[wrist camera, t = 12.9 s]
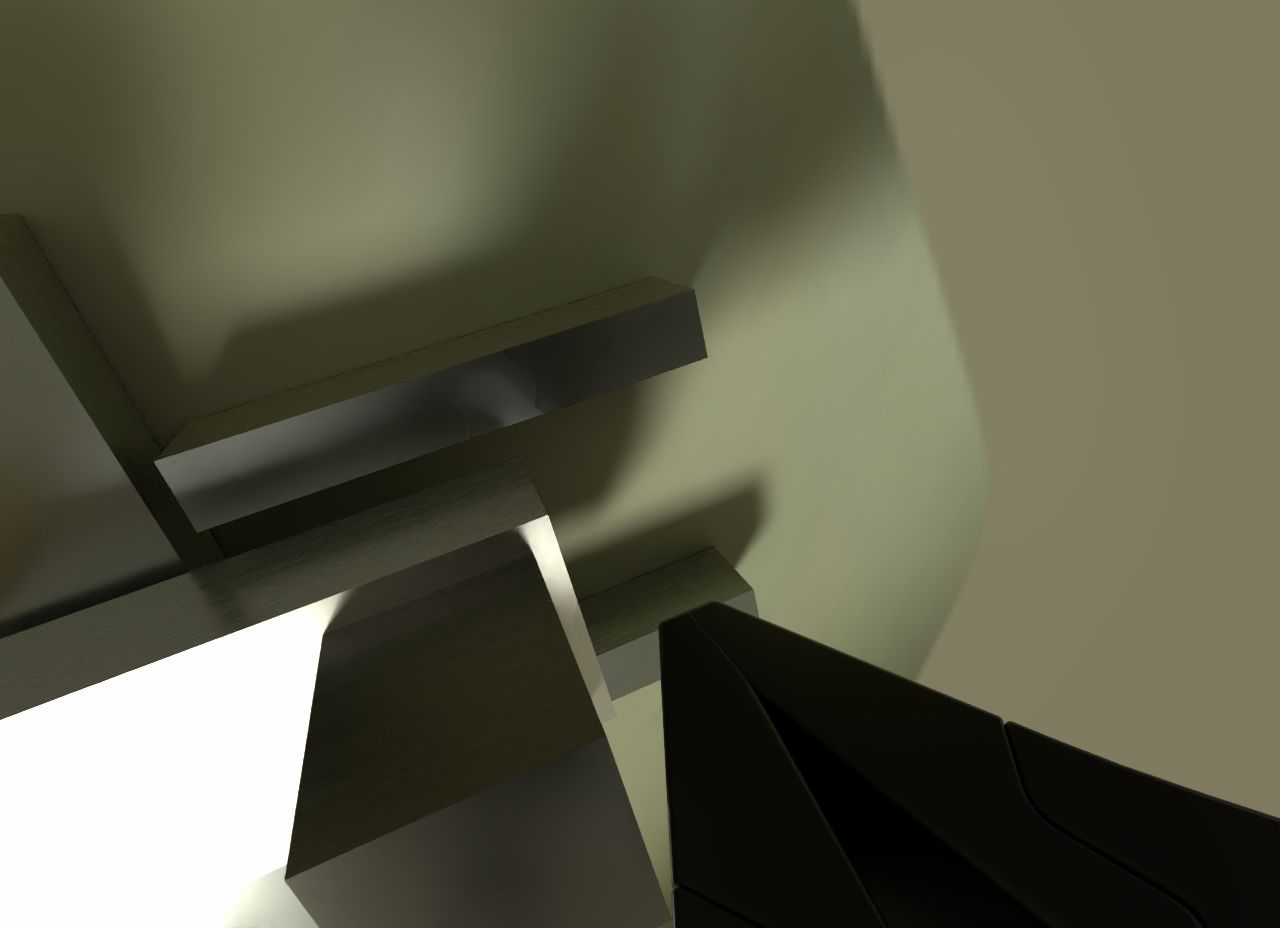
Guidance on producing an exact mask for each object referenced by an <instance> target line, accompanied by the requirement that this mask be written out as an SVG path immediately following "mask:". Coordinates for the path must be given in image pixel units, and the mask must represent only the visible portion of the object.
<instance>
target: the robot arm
mask: <svg viewBox="0 0 1280 928" xmlns="http://www.w3.org/2000/svg"><path fill="white" fill-rule="evenodd" d="M658 634H659V653H660V672H661V691H662V710H663V729H664V749H665V768H666V787H667V806H668V825H669V844H670V863H671V882H672V887H673V891H672V912H673V928H1280V818H1278V817H1275V816H1272V815H1269V814H1266V813H1263V812H1260V811H1256V810H1253V809H1251V808H1248V807H1244V806H1241V805H1238V804H1235V803H1232V802H1229V801H1226V800H1223V799H1220V798H1217V797H1213V796H1211V795H1208V794H1205V793H1202V792H1199V791H1196V790H1193V789H1190V788H1187V787H1184V786H1181V785H1178V784H1175V783H1173V782H1170V781H1167V780H1164V779H1161V778H1158V777H1155V776H1152V775H1150V774H1147V773H1144V772H1141V771H1138V770H1135V769H1132V768H1129V767H1126V766H1123V765H1121V764H1118V763H1116V762H1113V761H1110V760H1108V759H1105V758H1103V757H1100V756H1097V755H1095V754H1092V753H1090V752H1087V751H1084V750H1082V749H1079V748H1077V747H1074V746H1072V745H1069V744H1066V743H1064V742H1061V741H1059V740H1056V739H1054V738H1051V737H1048V736H1046V735H1044V734H1041V733H1039V732H1036V731H1034V730H1032V729H1029V728H1027V727H1024V726H1022V725H1019V724H1017V723H1015V722H1012V721H1008V722H1007V723H1005V725H1004V722H1003V720H1002V718H1000V717H999V716H997V715H994V714H992V713H989V712H987V711H985V710H982V709H980V708H977V707H975V706H972V705H970V704H967V703H965V702H963V701H960V700H958V699H955V698H953V697H951V696H948V695H946V694H943V693H941V692H938V691H936V690H933V689H931V688H929V687H926V686H924V685H921V684H919V683H916V682H914V681H912V680H909V679H907V678H904V677H902V676H899V675H897V674H895V673H892V672H890V671H887V670H885V669H882V668H880V667H878V666H875V665H873V664H870V663H868V662H865V661H863V660H861V659H858V658H856V657H853V656H851V655H848V654H846V653H844V652H841V651H839V650H836V649H834V648H831V647H829V646H826V645H824V644H822V643H819V642H817V641H814V640H812V639H809V638H807V637H805V636H802V635H800V634H797V633H795V632H792V631H790V630H788V629H785V628H783V627H780V626H778V625H775V624H773V623H771V622H768V621H766V620H763V619H761V618H758V617H756V616H754V615H751V614H749V613H746V612H744V611H741V610H739V609H736V608H734V607H732V606H729V605H727V604H724V603H722V602H719V601H715V600H712V601H708V602H706V603H703V604H701V605H699V606H696V607H694V608H691V609H689V610H687V611H684V612H682V613H679V614H677V615H675V616H672V617H670V618H667V619H665V620H663V621H661V622H660V623H659V626H658Z"/></svg>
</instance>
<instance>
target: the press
mask: <svg viewBox="0 0 1280 928" xmlns="http://www.w3.org/2000/svg"><path fill="white" fill-rule="evenodd" d="M705 358H708V357H707V352H706V347H705V342H704V337H703V332H702V327H701V322H700V317H699V311H698V306H697V301H696V296H695V291H694V289H692V288H688V287H685V286H682V285H679V284H675V283H672V282H669V281H666V280H662V279H659V278H656V277H653V278H650V279H647V280H643V281H640V282H637V283H634V284H631V285H627V286H624V287H621V288H618V289H614V290H611V291H608V292H605V293H602V294H598V295H595V296H592V297H589V298H586V299H582V300H579V301H576V302H573V303H569V304H566V305H563V306H560V307H557V308H553V309H550V310H547V311H544V312H540V313H537V314H534V315H531V316H528V317H524V318H521V319H518V320H515V321H511V322H508V323H505V324H502V325H499V326H495V327H492V328H489V329H486V330H483V331H479V332H476V333H473V334H470V335H466V336H463V337H460V338H457V339H454V340H450V341H447V342H444V343H441V344H437V345H434V346H431V347H428V348H425V349H421V350H418V351H415V352H412V353H409V354H405V355H402V356H399V357H396V358H392V359H389V360H386V361H383V362H380V363H376V364H373V365H370V366H367V367H363V368H360V369H357V370H354V371H351V372H347V373H344V374H341V375H338V376H334V377H331V378H328V379H325V380H322V381H318V382H315V383H312V384H309V385H306V386H302V387H299V388H296V389H293V390H289V391H286V392H283V393H280V394H277V395H273V396H270V397H267V398H264V399H260V400H257V401H254V402H251V403H248V404H244V405H241V406H238V407H235V408H232V409H228V410H225V411H222V412H219V413H215V414H212V415H209V416H206V417H203V418H199V419H196V420H193V421H190V422H189V423H188V424H187V425H186V426H185V427H184V428H183V429H182V430H181V432H180V433H179V434H178V435H177V436H176V437H175V438H174V439H173V440H172V442H171V443H170V444H169V445H168V446H167V447H166V448H165V449H164V451H163V452H161V450H160V448H159V447H158V445H157V443H156V442H155V440H154V438H153V437H152V435H151V433H150V432H149V430H148V428H147V427H146V425H145V423H144V422H143V420H142V418H141V417H140V415H139V413H138V412H137V410H136V408H135V407H134V405H133V403H132V402H131V400H130V398H129V397H128V395H127V393H126V392H125V390H124V388H123V387H122V385H121V383H120V382H119V380H118V378H117V377H116V375H115V373H114V372H113V370H112V368H111V367H110V365H109V363H108V362H107V360H106V358H105V357H104V355H103V353H102V352H101V350H100V348H99V347H98V345H97V343H96V342H95V340H94V338H93V337H92V335H91V333H90V332H89V330H88V328H87V327H86V325H85V323H84V322H83V320H82V318H81V317H80V315H79V313H78V312H77V310H76V308H75V307H74V305H73V303H72V302H71V300H70V298H69V297H68V295H67V293H66V292H65V290H64V288H63V287H62V285H61V283H60V282H59V280H58V278H57V277H56V275H55V273H54V272H53V270H52V269H51V267H50V265H49V264H48V262H47V260H46V259H45V257H44V255H43V254H42V252H41V250H40V249H39V247H38V245H37V244H36V242H35V240H34V239H33V237H32V235H31V234H30V232H29V230H28V229H27V227H26V225H25V224H24V222H23V220H22V219H21V217H20V215H19V214H4V215H0V639H2V638H5V637H8V636H10V635H13V634H16V633H19V632H22V631H25V630H27V629H30V628H33V627H36V626H39V625H41V624H44V623H47V622H50V621H53V620H56V619H58V618H61V617H64V616H67V615H70V614H73V613H75V612H78V611H81V610H84V609H87V608H90V607H92V606H95V605H98V604H101V603H104V602H107V601H109V600H112V599H115V598H118V597H121V596H124V595H126V594H129V593H132V592H135V591H138V590H141V589H143V588H146V587H149V586H152V585H155V584H158V583H160V582H163V581H166V580H169V579H172V578H175V577H177V576H180V575H183V574H186V573H189V572H192V571H194V570H197V569H200V568H203V567H206V566H208V565H211V564H214V563H217V562H220V561H223V560H225V559H226V558H225V556H224V555H223V553H222V551H221V550H220V548H219V546H218V545H217V543H216V541H215V540H214V538H213V536H212V535H211V533H210V531H209V530H208V529H209V528H212V527H215V526H218V525H221V524H224V523H227V522H230V521H233V520H235V519H238V518H241V517H244V516H247V515H250V514H253V513H256V512H259V511H262V510H265V509H268V508H270V507H273V506H276V505H279V504H282V503H285V502H288V501H291V500H294V499H297V498H300V497H303V496H305V495H308V494H311V493H314V492H317V491H320V490H323V489H326V488H329V487H332V486H335V485H338V484H340V483H343V482H346V481H349V480H352V479H355V478H358V477H361V476H364V475H367V474H370V473H373V472H375V471H378V470H381V469H384V468H387V467H390V466H393V465H396V464H399V463H402V462H405V461H408V460H410V459H413V458H416V457H419V456H422V455H425V454H428V453H431V452H434V451H437V450H440V449H443V448H445V447H448V446H451V445H454V444H457V443H460V442H463V441H466V440H469V439H472V438H475V437H478V436H480V435H483V434H486V433H489V432H492V431H495V430H498V429H501V428H504V427H507V426H510V425H513V424H515V423H518V422H521V421H524V420H527V419H530V418H533V417H536V416H539V415H542V414H545V413H548V412H550V411H553V410H556V409H559V408H562V407H565V406H568V405H571V404H574V403H577V402H580V401H583V400H585V399H588V398H591V397H594V396H597V395H600V394H603V393H606V392H609V391H612V390H615V389H618V388H620V387H623V386H626V385H629V384H632V383H635V382H638V381H641V380H644V379H647V378H650V377H653V376H655V375H658V374H661V373H664V372H667V371H670V370H673V369H676V368H679V367H682V366H685V365H688V364H690V363H693V362H696V361H699V360H702V359H705ZM712 600H715V601H719V602H722V603H724V604H727V605H729V606H732V607H734V608H736V609H739V610H741V611H744V612H746V613H749V614H751V615H754V616H756V617H758V618H759V615H758V609H757V604H756V599H755V594H754V589H753V588H752V587H751V586H750V585H749V584H748V583H747V582H746V581H745V580H744V579H743V578H742V576H741V575H740V574H739V573H738V572H737V571H736V570H735V569H734V568H733V567H732V566H731V565H730V563H729V562H728V561H727V560H726V559H725V558H724V557H723V556H722V555H721V554H720V553H719V551H718V550H717V549H716V548H715V547H713V548H710V549H708V550H705V551H703V552H700V553H698V554H696V555H693V556H691V557H688V558H686V559H683V560H681V561H678V562H676V563H673V564H671V565H668V566H666V567H664V568H661V569H659V570H656V571H654V572H651V573H649V574H646V575H644V576H641V577H639V578H636V579H634V580H632V581H629V582H627V583H624V584H622V585H619V586H617V587H614V588H612V589H609V590H607V591H604V592H602V593H600V594H597V595H595V596H592V597H590V598H587V599H585V600H582V601H580V602H578V604H579V607H580V610H581V613H582V616H583V619H584V622H585V625H586V628H587V631H588V634H589V637H590V639H591V642H592V645H593V648H594V651H595V654H596V657H597V660H598V663H599V666H600V669H601V672H602V675H603V678H604V681H605V684H606V686H607V689H608V692H609V695H610V698H611V701H613V700H616V699H618V698H620V697H622V696H625V695H627V694H629V693H631V692H634V691H636V690H638V689H640V688H643V687H645V686H647V685H650V684H652V683H654V682H656V681H659V680H661V672H660V653H659V634H658V626H659V623H660V622H661V621H663V620H665V619H667V618H670V617H672V616H675V615H677V614H679V613H682V612H684V611H687V610H689V609H691V608H694V607H696V606H699V605H701V604H703V603H706V602H708V601H712ZM286 866H287V864H286V865H284V866H282V867H280V868H277V869H275V870H273V871H271V872H268V873H266V874H264V875H262V876H259V877H257V878H255V879H253V880H250V881H248V882H246V883H244V884H242V885H239V886H237V887H235V888H233V889H230V890H228V891H226V892H224V893H221V894H219V895H217V896H215V897H213V898H210V899H208V900H206V901H204V902H201V903H199V904H197V905H195V906H192V907H190V908H188V909H186V910H184V911H181V912H179V913H177V914H175V915H172V916H170V917H168V918H166V919H163V920H161V921H159V922H157V923H155V924H152V925H150V926H148V927H146V928H319V927H318V926H317V924H316V923H315V922H314V920H313V919H312V918H311V916H310V915H309V913H308V912H307V911H306V909H305V908H304V907H303V905H302V904H301V903H300V901H299V900H298V899H297V897H296V896H295V895H294V893H293V892H292V890H291V889H290V888H289V886H288V885H287V884H286V882H285V881H284V879H285V873H286Z"/></svg>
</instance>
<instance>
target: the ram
mask: <svg viewBox="0 0 1280 928" xmlns="http://www.w3.org/2000/svg"><path fill="white" fill-rule="evenodd" d="M614 717H616V713H615V710H614V707H613V704H612V701H611V698H610V695H609V692H608V689H607V686H606V684H605V681H604V678H603V675H602V672H601V669H600V666H599V663H598V660H597V657H596V654H595V651H594V648H593V645H592V642H591V639H590V637H589V634H588V631H587V628H586V625H585V622H584V619H583V616H582V613H581V610H580V607H579V604H578V601H577V598H576V595H575V593H574V590H573V587H572V584H571V581H570V578H569V575H568V572H567V569H566V566H565V563H564V560H563V557H562V554H561V551H560V548H559V546H558V543H557V540H556V537H555V534H554V531H553V528H552V525H551V522H550V519H549V516H548V514H547V512H546V510H545V508H544V506H543V504H542V502H541V500H540V498H539V495H538V493H537V491H536V489H535V487H534V485H533V483H532V481H531V479H530V477H529V475H528V473H527V471H526V469H525V467H524V465H523V463H522V461H521V459H520V457H519V456H517V457H514V458H511V459H509V460H506V461H503V462H500V463H497V464H494V465H492V466H489V467H486V468H483V469H480V470H477V471H475V472H472V473H469V474H466V475H463V476H460V477H458V478H455V479H452V480H449V481H446V482H443V483H441V484H438V485H435V486H432V487H429V488H426V489H424V490H421V491H418V492H415V493H412V494H409V495H407V496H404V497H401V498H398V499H395V500H392V501H390V502H387V503H384V504H381V505H378V506H375V507H373V508H370V509H367V510H364V511H361V512H359V513H356V514H353V515H350V516H347V517H344V518H342V519H339V520H336V521H333V522H330V523H327V524H325V525H322V526H319V527H316V528H313V529H310V530H308V531H305V532H302V533H299V534H296V535H293V536H291V537H288V538H285V539H282V540H279V541H276V542H274V543H271V544H268V545H265V546H262V547H259V548H257V549H254V550H251V551H248V552H245V553H242V554H240V555H237V556H234V557H231V558H228V559H225V560H223V561H220V562H217V563H214V564H211V565H208V566H206V567H203V568H200V569H197V570H194V571H192V572H189V573H186V574H183V575H180V576H177V577H175V578H172V579H169V580H166V581H163V582H160V583H158V584H155V585H152V586H149V587H146V588H143V589H141V590H138V591H135V592H132V593H129V594H126V595H124V596H121V597H118V598H115V599H112V600H109V601H107V602H104V603H101V604H98V605H95V606H92V607H90V608H87V609H84V610H81V611H78V612H75V613H73V614H70V615H67V616H64V617H61V618H58V619H56V620H53V621H50V622H47V623H44V624H41V625H39V626H36V627H33V628H30V629H27V630H25V631H22V632H19V633H16V634H13V635H10V636H8V637H5V638H2V639H0V928H146V927H148V926H150V925H152V924H155V923H157V922H159V921H161V920H163V919H166V918H168V917H170V916H172V915H175V914H177V913H179V912H181V911H184V910H186V909H188V908H190V907H192V906H195V905H197V904H199V903H201V902H204V901H206V900H208V899H210V898H213V897H215V896H217V895H219V894H221V893H224V892H226V891H228V890H230V889H233V888H235V887H237V886H239V885H242V884H244V883H246V882H248V881H250V880H253V879H255V878H257V877H259V876H262V875H264V874H266V873H268V872H271V871H273V870H275V869H277V868H280V867H282V866H284V865H286V864H287V866H286V873H285V879H284V881H285V882H286V884H287V885H288V886H289V888H290V889H291V890H292V892H293V893H294V895H295V896H296V897H297V899H298V900H299V901H300V903H301V904H302V905H303V907H304V908H305V909H306V911H307V912H308V913H309V915H310V916H311V918H312V919H313V920H314V922H315V923H316V924H317V926H318V927H319V928H656V927H658V926H660V925H662V924H664V923H666V922H668V921H670V920H671V917H670V914H669V911H668V908H667V906H666V903H665V900H664V897H663V894H662V892H661V889H660V886H659V883H658V880H657V877H656V875H655V872H654V869H653V866H652V863H651V861H650V858H649V855H648V852H647V849H646V847H645V844H644V841H643V838H642V835H641V833H640V830H639V827H638V824H637V821H636V818H635V816H634V813H633V810H632V807H631V804H630V802H629V799H628V796H627V793H626V790H625V788H624V785H623V782H622V779H621V776H620V774H619V771H618V768H617V765H616V762H615V760H614V757H613V754H612V751H611V748H610V745H609V743H608V740H607V737H606V734H605V732H604V729H603V727H602V724H601V723H603V722H605V721H608V720H610V719H612V718H614Z"/></svg>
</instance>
